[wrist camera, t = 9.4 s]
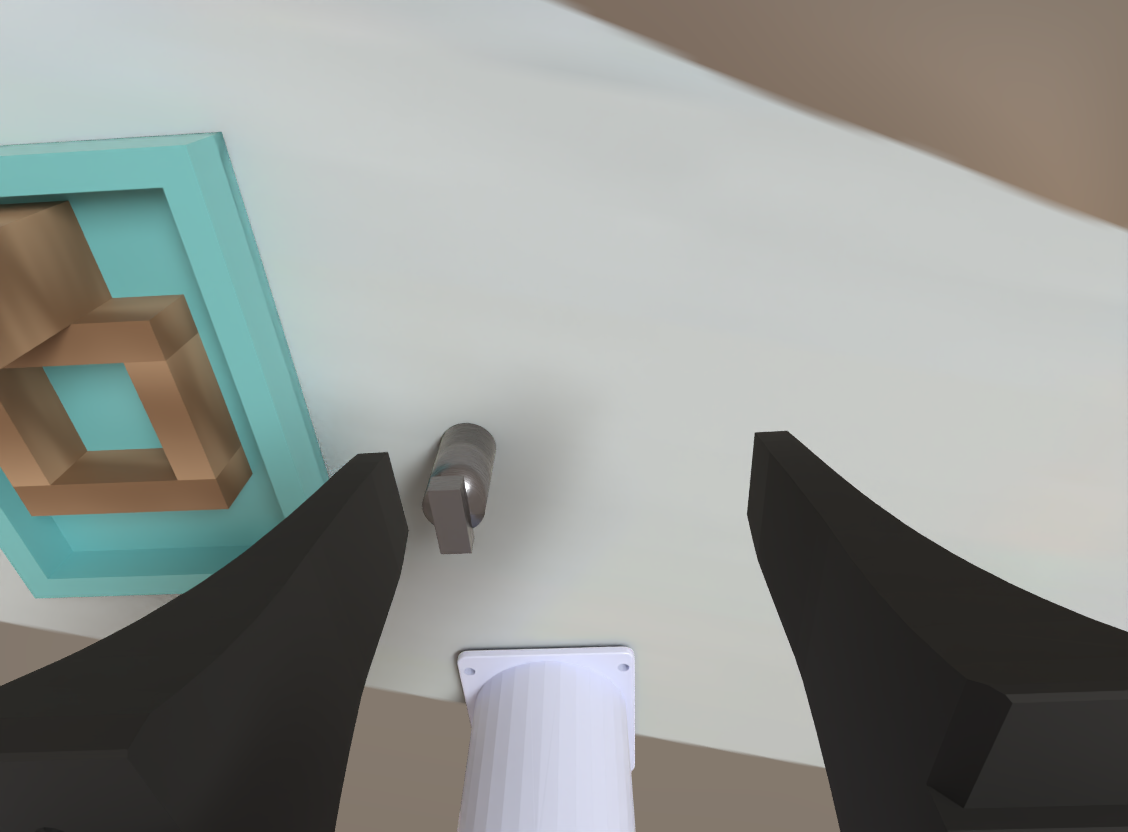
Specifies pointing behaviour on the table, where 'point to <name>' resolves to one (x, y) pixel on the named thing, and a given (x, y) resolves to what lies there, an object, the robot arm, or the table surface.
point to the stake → (459, 486)
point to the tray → (105, 391)
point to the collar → (102, 336)
